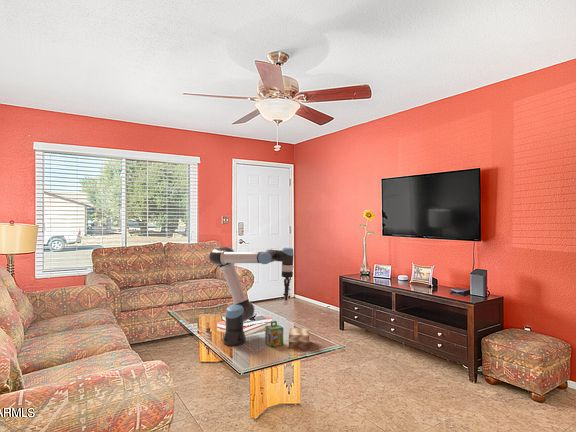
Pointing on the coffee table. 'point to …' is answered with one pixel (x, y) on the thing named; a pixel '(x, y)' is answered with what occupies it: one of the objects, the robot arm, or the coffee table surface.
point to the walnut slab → (299, 345)
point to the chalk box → (274, 335)
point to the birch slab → (298, 335)
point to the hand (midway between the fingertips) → (286, 302)
